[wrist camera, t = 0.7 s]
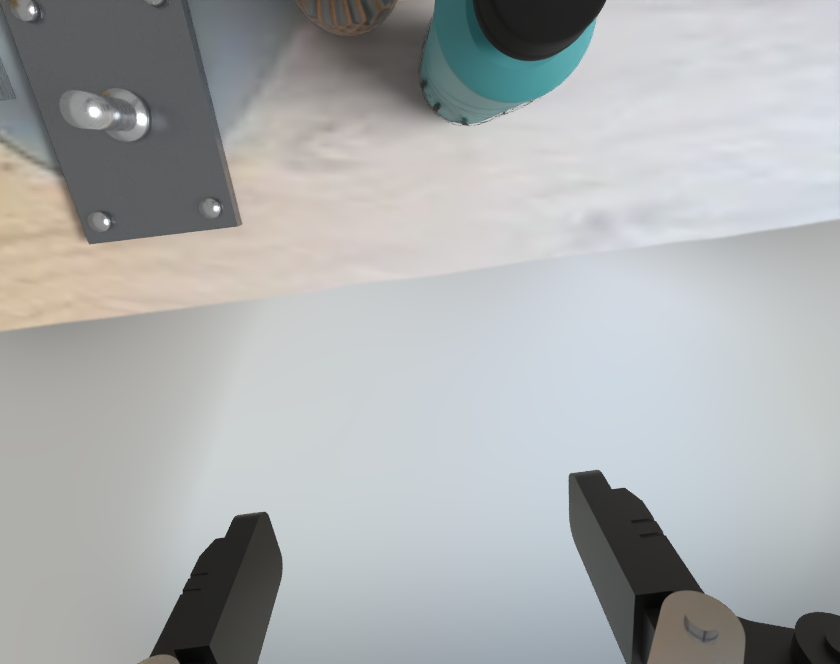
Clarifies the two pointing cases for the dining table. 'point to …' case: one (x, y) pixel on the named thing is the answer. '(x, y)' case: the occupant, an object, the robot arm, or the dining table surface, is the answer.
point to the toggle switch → (127, 114)
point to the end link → (5, 85)
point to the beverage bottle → (501, 53)
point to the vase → (346, 14)
